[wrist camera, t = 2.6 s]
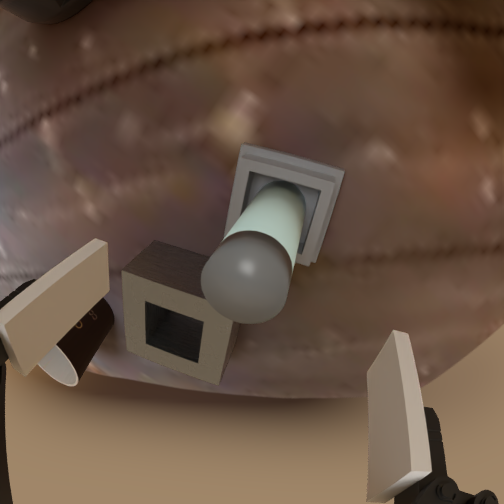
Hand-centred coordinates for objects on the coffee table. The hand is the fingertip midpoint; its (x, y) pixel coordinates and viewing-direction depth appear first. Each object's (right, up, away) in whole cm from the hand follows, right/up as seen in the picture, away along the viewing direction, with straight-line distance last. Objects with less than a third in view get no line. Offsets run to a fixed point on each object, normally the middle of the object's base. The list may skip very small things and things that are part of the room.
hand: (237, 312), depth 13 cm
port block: (-5, -2, +19) cm, 19 cm away
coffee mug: (-21, -4, +24) cm, 32 cm away
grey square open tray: (+3, +7, +12) cm, 14 cm away
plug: (+3, +6, +11) cm, 13 cm away
